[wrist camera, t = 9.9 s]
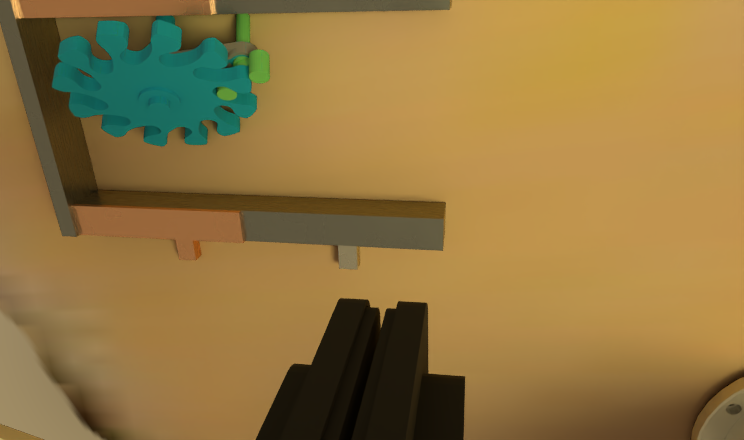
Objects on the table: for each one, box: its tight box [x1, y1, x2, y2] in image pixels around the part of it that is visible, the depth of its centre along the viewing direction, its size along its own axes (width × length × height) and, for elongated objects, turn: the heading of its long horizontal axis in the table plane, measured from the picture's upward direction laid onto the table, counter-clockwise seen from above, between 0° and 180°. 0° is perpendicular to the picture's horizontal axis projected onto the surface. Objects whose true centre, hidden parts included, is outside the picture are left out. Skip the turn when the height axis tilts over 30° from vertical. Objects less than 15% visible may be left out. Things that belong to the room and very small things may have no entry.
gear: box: [52, 14, 270, 146], centre depth 30 cm, size 11×6×10 cm
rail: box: [0, 0, 452, 270], centre depth 31 cm, size 20×24×3 cm
